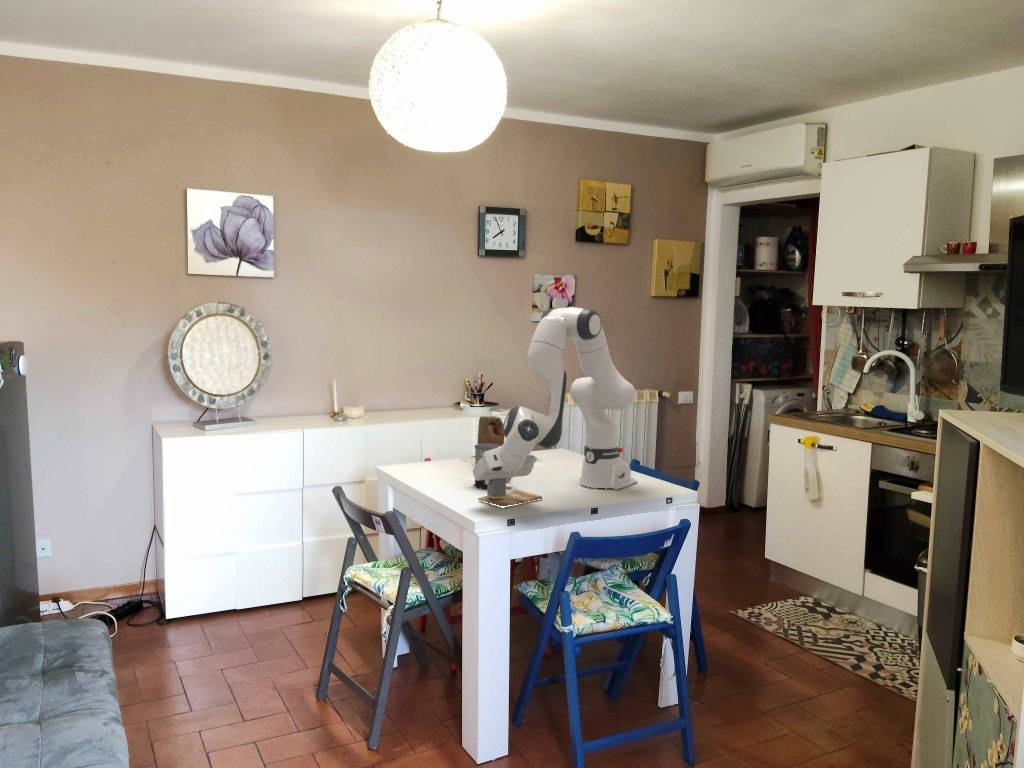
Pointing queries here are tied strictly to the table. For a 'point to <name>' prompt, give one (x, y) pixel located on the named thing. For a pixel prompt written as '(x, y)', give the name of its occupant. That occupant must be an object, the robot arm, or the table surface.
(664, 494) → the table surface
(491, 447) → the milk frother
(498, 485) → the block
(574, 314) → the robot arm
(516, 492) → the board
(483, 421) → the block
